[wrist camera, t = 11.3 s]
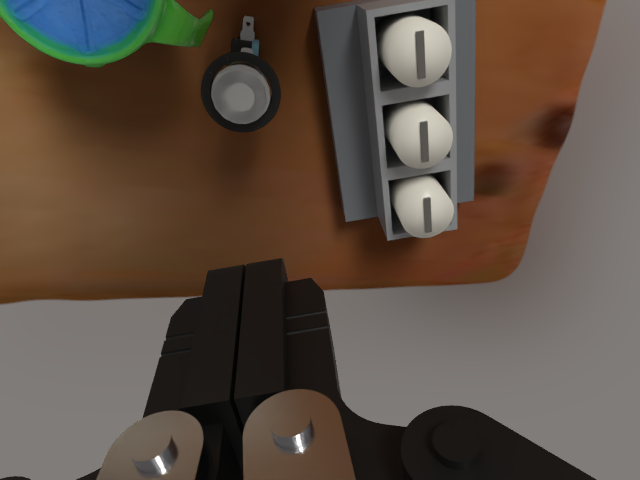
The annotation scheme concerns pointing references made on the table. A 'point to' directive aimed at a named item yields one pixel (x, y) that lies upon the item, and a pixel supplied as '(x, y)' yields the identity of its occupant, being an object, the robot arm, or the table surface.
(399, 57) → the knob
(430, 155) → the knob mid
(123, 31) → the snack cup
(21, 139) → the table surface
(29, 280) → the table surface
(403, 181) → the knob
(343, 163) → the grey compartment box
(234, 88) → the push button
